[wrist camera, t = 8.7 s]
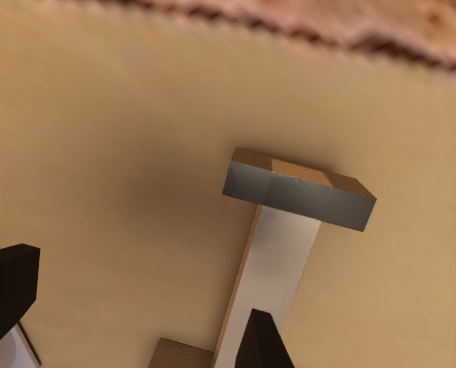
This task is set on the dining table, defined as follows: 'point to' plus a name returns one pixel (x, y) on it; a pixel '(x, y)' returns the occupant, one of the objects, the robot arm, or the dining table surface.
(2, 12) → the dining table surface
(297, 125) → the dining table surface
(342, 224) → the shaft
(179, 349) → the bearing block
